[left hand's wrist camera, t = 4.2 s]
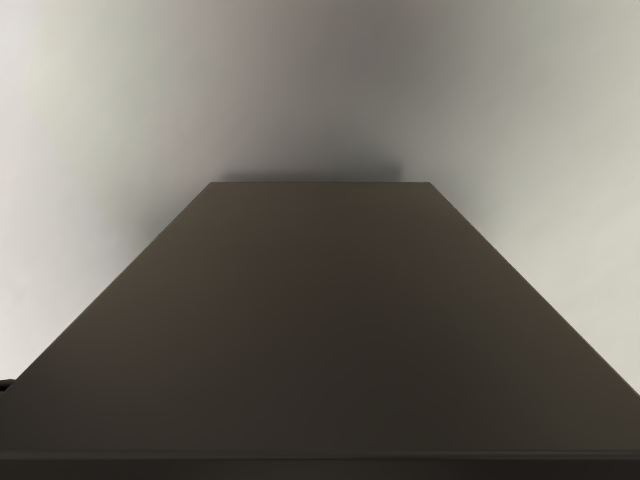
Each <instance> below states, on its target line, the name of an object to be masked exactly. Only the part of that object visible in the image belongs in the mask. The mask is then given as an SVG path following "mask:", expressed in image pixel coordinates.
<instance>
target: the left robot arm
mask: <svg viewBox="0 0 640 480" xmlns="http://www.w3.org/2000/svg"><path fill="white" fill-rule="evenodd" d="M14 381H15V380H14V379H7V380H0V395H1V394H2V393H3V392H4V391H5V390H6V389H7V388H8V387H9V386H10V385H11V384H12V383H13V382H14Z"/></svg>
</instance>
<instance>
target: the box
mask: <svg viewBox="0 0 640 480" xmlns="http://www.w3.org/2000/svg"><path fill="white" fill-rule="evenodd" d="M0 480H640V395H639V394H638V393H637V392H636V391H635V390H634V389H633V388H632V387H631V386H630V385H629V384H628V383H627V382H626V381H625V380H624V379H623V378H622V377H621V376H620V375H619V374H618V373H617V372H616V371H615V370H614V369H613V368H612V367H611V366H610V365H609V364H608V363H607V362H606V361H605V360H604V359H603V358H602V357H601V356H600V355H599V354H598V353H597V352H596V351H595V350H594V349H593V348H592V347H591V346H590V345H589V344H588V343H587V341H586V340H585V339H584V338H583V337H582V336H581V335H580V334H579V333H578V332H577V331H576V330H575V329H574V328H573V327H572V326H571V325H570V324H569V323H568V322H567V321H566V320H565V319H564V318H563V317H562V316H561V315H560V314H559V313H558V312H557V311H556V310H555V309H554V308H553V307H552V306H551V305H550V304H549V303H548V302H547V301H546V300H545V299H544V298H543V297H542V296H541V295H540V294H539V293H538V292H537V291H536V290H535V289H534V288H533V287H532V286H531V285H530V284H529V283H528V282H527V281H526V280H525V279H524V278H523V277H522V276H521V275H520V273H519V272H518V271H517V270H516V269H515V268H514V267H513V266H512V265H511V264H510V263H509V262H508V261H507V260H506V259H505V258H504V257H503V256H502V255H501V254H500V253H499V252H498V251H497V250H496V249H495V248H494V247H493V246H492V245H491V244H490V243H489V242H488V241H487V240H486V239H485V238H484V237H483V236H482V235H481V234H480V233H479V232H478V231H477V230H476V229H475V228H474V227H473V226H472V225H471V224H470V223H469V222H468V221H467V220H466V219H465V218H464V217H463V216H462V215H461V214H460V213H459V212H458V211H457V210H456V209H455V208H454V207H453V206H452V204H451V203H450V202H449V201H448V200H447V199H446V198H445V197H444V196H443V195H442V194H441V193H440V192H439V191H438V190H437V189H436V188H435V187H434V186H433V185H432V184H431V183H429V182H211V183H210V184H209V185H208V186H207V187H206V188H205V189H204V190H203V191H202V192H201V193H200V194H199V195H198V196H197V197H196V198H195V199H194V200H193V201H192V202H191V203H190V204H189V205H188V206H187V207H186V208H185V209H184V210H183V211H182V212H181V213H180V214H179V215H178V216H177V217H176V218H175V219H174V220H173V221H172V222H171V223H170V224H169V225H168V226H167V227H166V228H165V229H164V230H163V231H162V232H161V233H160V234H159V235H158V236H157V237H156V238H155V239H154V240H153V241H152V242H151V243H150V244H149V245H148V246H147V247H146V248H145V249H144V250H143V251H142V252H141V253H140V255H139V256H138V257H137V258H136V259H135V260H134V261H133V262H132V263H131V264H130V265H129V266H128V267H127V268H126V269H125V270H124V271H123V272H122V273H121V274H120V275H119V276H118V277H117V278H116V279H115V280H114V281H113V282H112V283H111V284H110V285H109V286H108V287H107V288H106V289H105V290H104V291H103V292H102V293H101V294H100V295H99V296H98V297H97V298H96V299H95V300H94V301H93V302H92V303H91V304H90V305H89V306H88V307H87V308H86V309H85V310H84V311H83V312H82V313H81V314H80V315H79V316H78V317H77V318H76V319H75V320H74V321H73V322H72V323H71V324H70V325H69V326H68V327H67V328H66V329H65V330H64V332H63V333H62V334H61V335H60V336H59V337H58V338H57V339H56V340H55V341H54V342H53V343H52V344H51V345H50V346H49V347H48V348H47V349H46V350H45V351H44V352H43V353H42V354H41V355H40V356H39V357H38V358H37V359H36V360H35V361H34V362H33V363H32V364H31V365H30V366H29V367H28V368H27V369H26V370H25V371H24V372H23V373H22V374H21V375H20V376H19V377H18V378H17V379H16V380H15V381H14V382H13V383H12V384H11V385H10V386H9V387H8V388H7V389H6V390H5V391H4V392H3V393H2V394H1V395H0Z"/></svg>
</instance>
